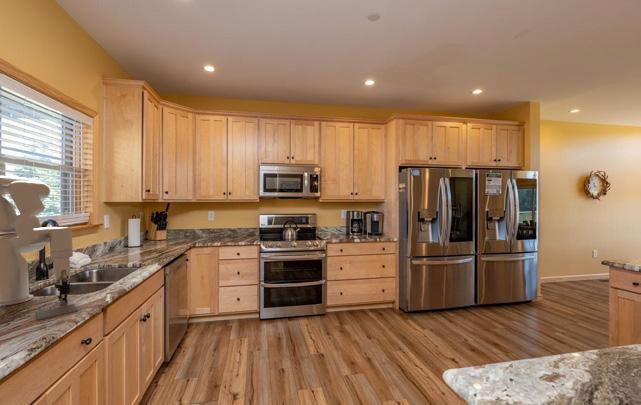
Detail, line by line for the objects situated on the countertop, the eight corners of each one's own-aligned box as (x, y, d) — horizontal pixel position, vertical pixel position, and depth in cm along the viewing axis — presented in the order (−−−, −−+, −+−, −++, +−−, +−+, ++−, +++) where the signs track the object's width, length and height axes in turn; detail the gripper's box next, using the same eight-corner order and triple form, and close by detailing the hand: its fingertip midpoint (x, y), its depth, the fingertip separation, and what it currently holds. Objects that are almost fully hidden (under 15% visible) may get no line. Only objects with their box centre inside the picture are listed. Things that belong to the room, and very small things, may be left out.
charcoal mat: (35, 313, 117) (35, 311, 117) (73, 304, 126) (73, 303, 126) (37, 320, 109) (37, 319, 109) (77, 311, 118) (77, 310, 118)
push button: (71, 303, 127) (71, 281, 127) (55, 307, 123) (54, 284, 123) (70, 300, 132) (69, 279, 132) (54, 303, 128) (54, 281, 128)
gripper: (48, 254, 131) (50, 290, 131) (52, 257, 119) (54, 297, 119) (70, 251, 136) (71, 286, 136) (75, 254, 124) (77, 293, 124)
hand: (63, 291), depth 127 cm, fingers open, 9 cm apart
